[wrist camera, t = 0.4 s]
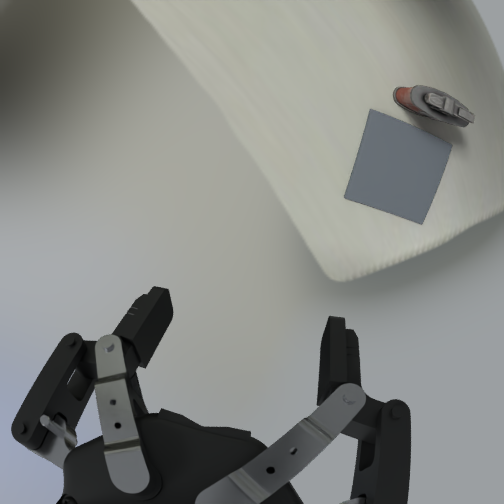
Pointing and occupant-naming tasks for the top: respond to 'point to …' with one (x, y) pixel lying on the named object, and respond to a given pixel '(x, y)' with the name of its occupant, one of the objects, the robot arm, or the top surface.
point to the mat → (397, 167)
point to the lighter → (433, 105)
